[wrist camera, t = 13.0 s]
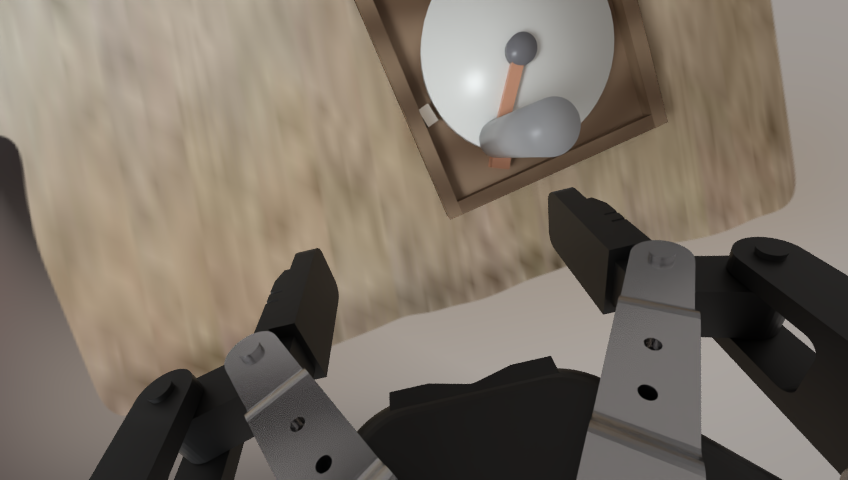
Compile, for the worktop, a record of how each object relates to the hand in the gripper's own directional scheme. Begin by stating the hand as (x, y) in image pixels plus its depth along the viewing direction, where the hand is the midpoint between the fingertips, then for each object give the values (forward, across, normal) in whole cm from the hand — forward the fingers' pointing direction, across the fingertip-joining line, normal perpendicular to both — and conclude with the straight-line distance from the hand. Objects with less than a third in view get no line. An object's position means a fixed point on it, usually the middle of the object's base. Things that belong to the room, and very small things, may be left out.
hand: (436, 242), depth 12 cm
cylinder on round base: (+22, -10, -1) cm, 25 cm away
